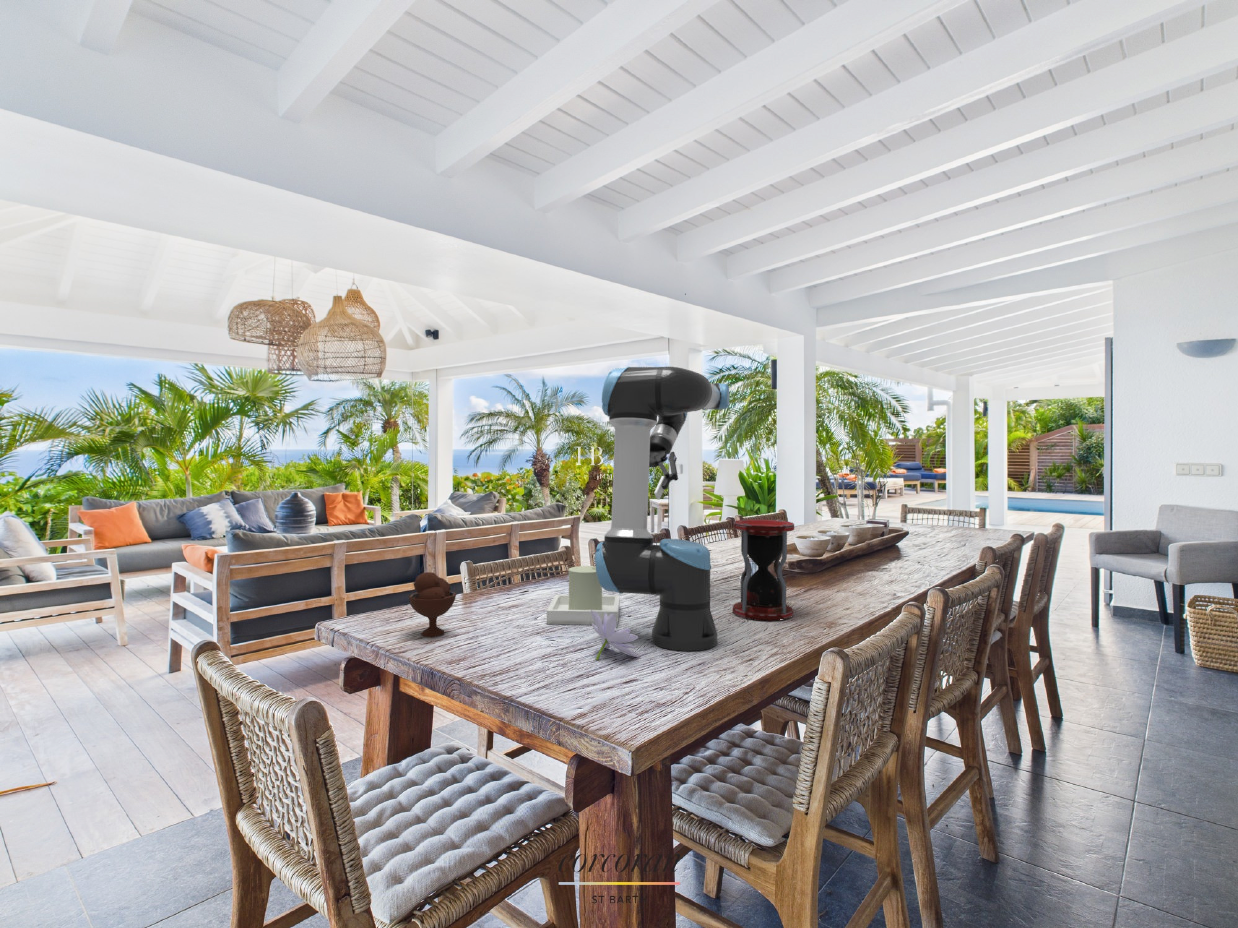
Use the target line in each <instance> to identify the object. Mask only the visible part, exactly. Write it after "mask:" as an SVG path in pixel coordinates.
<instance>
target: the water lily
mask: <svg viewBox="0 0 1238 928" xmlns="http://www.w3.org/2000/svg"><path fill="white" fill-rule="evenodd" d="M591 613H592V617H593V620H594V622H595V624H596V625H594V624H593V623H591V624H592V625H591V626H592V628H593V629H594V631H595V632H596V634H598V636H599V637H601V638H602V639H601V647H600V649H599V651H598V653H597V655H596V657H595V660H596V661H599V660H600V658H601V655H602V653H603V651H604V649H610V648H611V646H612V647H613V648H615V649H616V650H617V651H620V652H621V653H622V654H626V655H628V656H630V657H634V658H638V659H639V658H640V657H639V655H638V654H637V653H635V651H633V650H632V649H635V646H633V645H631V644H627V643H630V642H633V641H636V640H637V639H639V636H638V635H636V634H633V633H631V629H630V628H622V629H619V630H616V627H617V625H616V618H615V615H614V614H611V615H610V616H609V617H607V614H606V613H605V615H604V622H603V625H602V622H601V619H600V617H599V615H598V614H597V612H596V611H595V613H594V612H593V611H592V610H591Z"/></svg>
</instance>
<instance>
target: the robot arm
mask: <svg viewBox="0 0 1238 928" xmlns="http://www.w3.org/2000/svg"><path fill="white" fill-rule="evenodd" d="M729 405H730V387H729V385H728V384H727V383H719V382H718V383H717V382H716V383H711V382H710V380H709V379H708V378H707V377H706V376H704V375H703V374H701V373H699V372H696V371H693V370H690V369H686V368H683V367H678V366H677V367H676V366H627V367H620V368H614V369H612V370H611V371H610V372H608V374H607V376H606V377H605V380H604V383H603V387H602V392H601V407H602V408H601V410H602V412H603V414H604V415H605V416H607V417H608V422H609V424H610V425H611V426H612V427H613V428H614V448H613V449H614V451H613V472H612V473H613V474H612V478H613V479H612V501H611V523H610V526H611V527H610V529H609V530H607V532H606V533H604V541H601V542H599V543H597V546H596V549H595V553H594V554H595V557H594V563H595V566H594V567H596V573H597V578H598V581H599V583H600V585H601V587H602V590H604V591H607V592H611V593H612V592H613V593H619V594H637V595H651V596H652V595H654V596H659V609H658V612H657V615H656V618H655V621H654V625H653V627H652V630H651V641H652V643H653V644H654V645H656V646H658V647H660V648H663V649H666V650H673V651H674V650H675V651H684V652H685V651H687V652H692V651H694V652H695V651H702V650H703V651H704V650H708V649H711V648H714V647H715V646H717V644H718V631H717V628H716V625H715V621H714V618H713V614H712V611H711V570H712V563H711V552H710V549H709V548H708V547H707V546H705V545H704V544H701V543H700V542H695V541H691V540H686V539H679V538H664V539H661V540H660V542H659V544H654V543H653V542H654V536H653V535H652V534H651V533H650V532H649V530H648V510H649V509H648V508H649V486H650V485H649V483H650V482H649V481H650V479H649V477H650V468H655V469H656V468H657V467H659V468H660V470H661V471H662V474H663V475H661V477H660V479H659V481H658V484H657V486H656V488H655V490H654V492H653V493H654V495H655V498H656V500H660V499H661V498H662V496H663V494H664V491H665V490H667V489H668V487H669V485H670V482H672V481H678V480H679V476H678V475H679V474H678V470H677V469H678V468H677V465H676V463H677V459H678V458H677V455H676V454H675V452H674V451H672V449H673V447H674V445H675V443H676V440H677V438H678V437H679V434H680V431H681V430H682V428H683V426H684V424H685V423H686V421H687V416H688V413H692V412H698V411H700V410H717V411H718V410H726V409H728V408H729ZM652 429H653V430H652ZM651 431H652V432H651ZM667 461H668V463H669V467H670V473H669V471H668V470H667V467H666V466H665V465H664V463H665V462H667Z"/></svg>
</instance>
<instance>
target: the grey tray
mask: <svg viewBox="0 0 1238 928" xmlns="http://www.w3.org/2000/svg"><path fill="white" fill-rule="evenodd" d="M620 597H621V595H609V594H607V595H604V594H602V610H592V611H593V612H594V613H595V611H596V612H597V614H598V615H599V617H600V619H601V622H602V626H603V622H604V615H605V613H606V614H607V617H609V616H610V615H611V614H614V615H615V618H616V626H618V624H619V618H620V617H619V616H620V606H621V604H620V602H621V601H620V599H621V598H620ZM568 609H569V594H555V595H554V597H553V598H552V600H551V602H550V604H549V605H548V608H547V609H546V625H555V624H570V625H571V626H573V625H575V626H592V624H591V623H593V624H594V625H595V626H596V624H595V622H594V620H593V617H592V613H591V610H568ZM570 625H569V626H570Z"/></svg>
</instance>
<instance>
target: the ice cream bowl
mask: <svg viewBox="0 0 1238 928" xmlns="http://www.w3.org/2000/svg"><path fill="white" fill-rule="evenodd" d="M413 587H414V588H413V589H414V590H415V591H416V592H412V593H411V594H410V595H409V596H408V600H409V604H410V606H411V608H412V609H413V610H414V611H415V612H416V613H418V615H420V616H423V617H425V618H427V619H428V625H429V626H428V627H426V628H425V629H424V630H422V631H421V633H420V636H421V637H424V638H437V637H441V636H444V634H445V633H446V631H445V630H444V629H442V628H440V627H438V626H437V625H438V624H437V623H438V622H437V620H438V617H441V616H443V615H445V614H446V613H447V612H448V611H449V610H450V609H451V608H452V606H453V605H454V602H455V601H456V597H457V592H455V591H452V590H451V583H449V582H448V581H447V580H445V578H443V577H440V576H438V575H437V574H436V573H434V572H430V571H426V572H422V573H421V574H419V575H417V577H416V578H415V580H414V581H413Z"/></svg>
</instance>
